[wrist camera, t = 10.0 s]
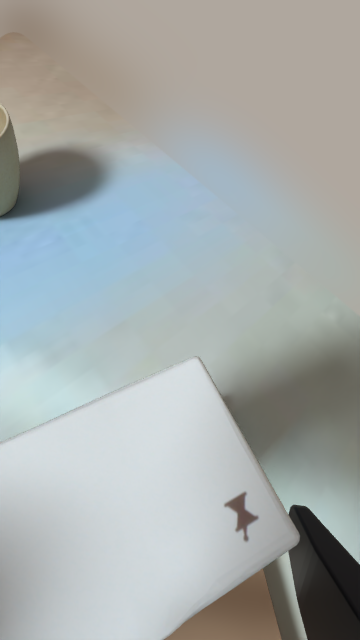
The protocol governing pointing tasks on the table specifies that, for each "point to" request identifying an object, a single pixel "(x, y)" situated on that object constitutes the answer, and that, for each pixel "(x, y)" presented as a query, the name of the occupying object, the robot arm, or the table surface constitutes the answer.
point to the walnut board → (235, 615)
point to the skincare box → (132, 513)
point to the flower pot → (8, 164)
